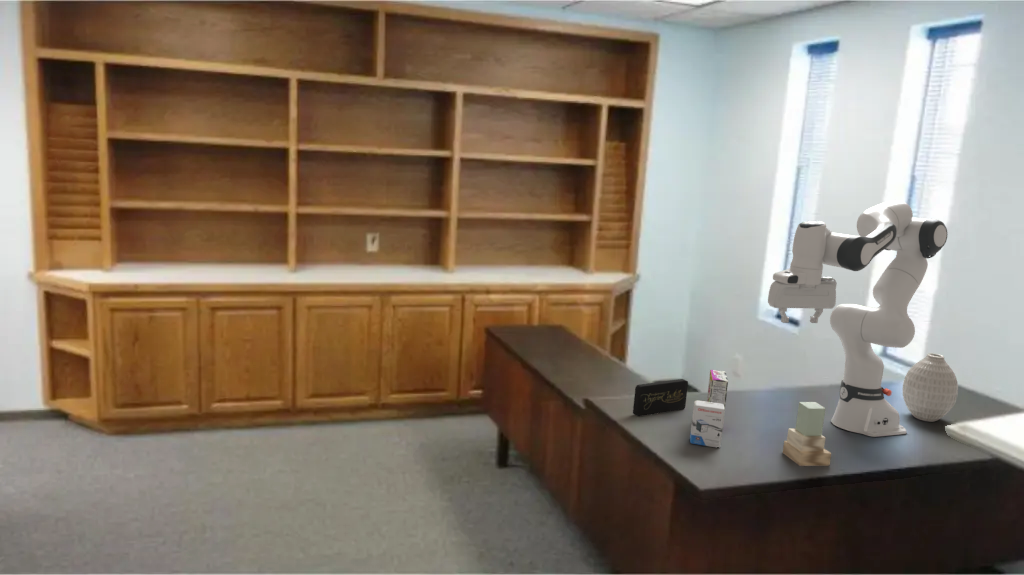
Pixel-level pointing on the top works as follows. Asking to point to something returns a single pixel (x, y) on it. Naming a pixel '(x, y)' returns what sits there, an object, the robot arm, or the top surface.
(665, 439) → the top surface
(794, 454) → the oak block
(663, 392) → the nameplate
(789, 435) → the maple block
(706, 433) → the ink box
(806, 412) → the sage block
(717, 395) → the candy bar box
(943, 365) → the vase
